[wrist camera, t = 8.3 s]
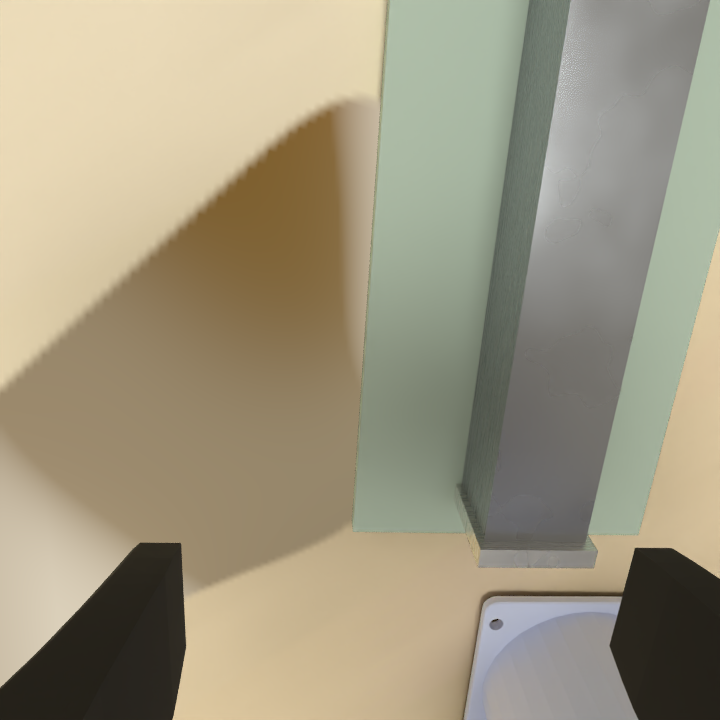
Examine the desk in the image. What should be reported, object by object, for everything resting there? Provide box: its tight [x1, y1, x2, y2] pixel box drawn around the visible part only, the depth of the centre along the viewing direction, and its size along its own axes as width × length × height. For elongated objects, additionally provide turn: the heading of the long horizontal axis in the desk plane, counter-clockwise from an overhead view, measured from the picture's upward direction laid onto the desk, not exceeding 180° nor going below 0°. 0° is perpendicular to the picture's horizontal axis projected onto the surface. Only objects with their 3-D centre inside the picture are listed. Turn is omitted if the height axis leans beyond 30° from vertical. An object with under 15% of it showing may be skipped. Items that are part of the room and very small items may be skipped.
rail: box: [454, 0, 710, 568], centre depth 16 cm, size 19×3×3 cm, turn 176°
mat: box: [352, 0, 720, 535], centre depth 18 cm, size 22×10×1 cm, turn 176°
